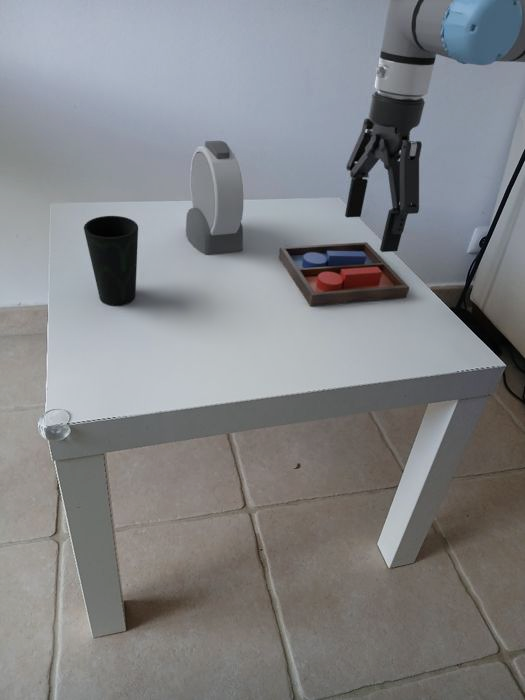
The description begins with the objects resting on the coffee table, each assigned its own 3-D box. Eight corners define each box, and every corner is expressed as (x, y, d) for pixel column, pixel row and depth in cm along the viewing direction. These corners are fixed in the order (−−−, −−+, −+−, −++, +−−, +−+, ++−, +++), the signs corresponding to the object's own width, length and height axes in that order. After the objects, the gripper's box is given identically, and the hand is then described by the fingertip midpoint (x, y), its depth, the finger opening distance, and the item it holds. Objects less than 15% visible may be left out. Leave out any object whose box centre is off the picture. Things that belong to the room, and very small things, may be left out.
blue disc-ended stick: (358, 260, 99) (361, 248, 98) (365, 272, 96) (368, 259, 94) (300, 259, 98) (301, 247, 96) (304, 271, 94) (306, 258, 93)
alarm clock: (253, 254, 99) (261, 156, 88) (201, 260, 96) (203, 159, 84) (224, 219, 111) (228, 128, 100) (177, 223, 107) (176, 129, 96)
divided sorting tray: (364, 252, 104) (366, 242, 103) (406, 297, 92) (409, 287, 90) (278, 257, 99) (279, 247, 98) (310, 306, 87) (312, 295, 85)
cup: (103, 281, 87) (96, 212, 80) (148, 287, 87) (144, 219, 79) (84, 305, 81) (74, 233, 74) (132, 313, 81) (127, 241, 73)
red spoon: (371, 276, 95) (374, 263, 93) (382, 288, 92) (385, 275, 90) (312, 280, 92) (315, 267, 90) (321, 293, 89) (324, 280, 87)
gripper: (340, 76, 84) (321, 204, 96) (421, 115, 65) (383, 269, 77) (382, 77, 86) (358, 203, 98) (472, 116, 67) (428, 265, 79)
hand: (369, 232), depth 88 cm, fingers open, 13 cm apart
